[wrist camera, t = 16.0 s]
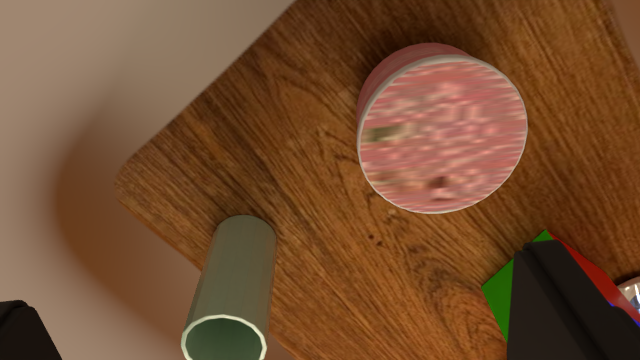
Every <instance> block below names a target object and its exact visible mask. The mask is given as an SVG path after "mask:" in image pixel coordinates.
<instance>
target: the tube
mask: <svg viewBox="0 0 640 360" xmlns="http://www.w3.org/2000/svg"><path fill="white" fill-rule="evenodd" d="M276 254H277V238H276V235H275V233H274V231H273V229H272V228H271V227H270V226H269V225H268V224H267V223H266V222H265V221H263V220H261V219H260V218H257V217H254V216H250V215H237V216H232V217H230V218H227V219H226V220H224V221H223V222H221V223H220V224H219V225H218V227H217V228H216V230H215V232H214V234H213V237H212V240H211V243H210V246H209V250H208V253H207V256H206V259H205V263H204V266H203V269H202V272H201V276H200V279H199V282H198V285H197V288H196V292H195V295H194V298H193V302H192V305H191V308H190V311H189V314H188V318H187V321H186V324H185V327H184V331H183V334H182V339H181V348H182V350H183V353H184V356H185V357H186V358H187V360H263V359H264V356H265V353H266V350H267V343H268V333H269V323H270V314H271V304H272V294H273V284H274V274H275V264H276Z"/></svg>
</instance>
